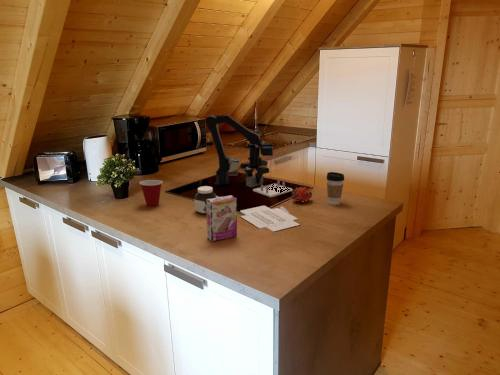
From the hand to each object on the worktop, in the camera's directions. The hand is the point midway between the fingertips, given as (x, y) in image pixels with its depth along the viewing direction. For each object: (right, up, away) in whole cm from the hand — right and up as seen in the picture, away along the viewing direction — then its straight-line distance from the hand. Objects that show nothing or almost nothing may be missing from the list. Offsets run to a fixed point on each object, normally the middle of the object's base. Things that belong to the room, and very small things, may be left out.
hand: (254, 182), depth 225 cm
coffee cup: (+39, -11, -30) cm, 50 cm away
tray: (+10, -5, -11) cm, 15 cm away
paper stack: (+6, -17, -47) cm, 51 cm away
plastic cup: (-50, -11, -30) cm, 60 cm away
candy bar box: (-14, -23, -67) cm, 72 cm away
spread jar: (-22, -14, -38) cm, 46 cm away
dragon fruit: (+23, -10, -27) cm, 37 cm away
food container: (-15, +5, +22) cm, 27 cm away
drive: (0, -1, 0) cm, 1 cm away
